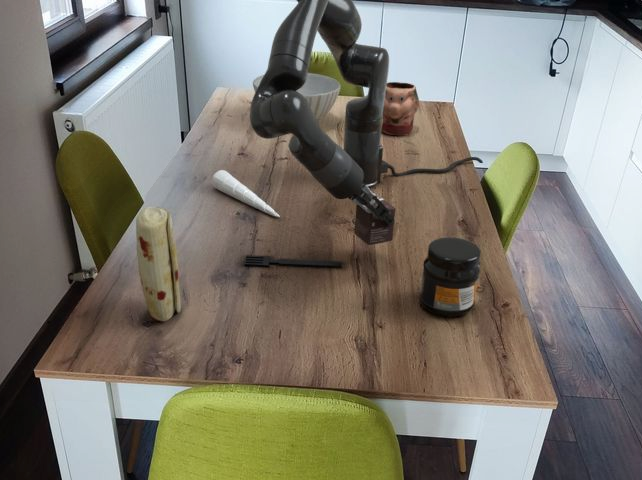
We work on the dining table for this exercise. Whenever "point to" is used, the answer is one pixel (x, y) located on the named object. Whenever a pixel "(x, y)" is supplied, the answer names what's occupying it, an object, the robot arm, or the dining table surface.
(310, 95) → the decorative bowl
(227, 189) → the unicorn horn
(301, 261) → the fork
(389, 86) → the decorative planter
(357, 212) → the box
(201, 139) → the dining table surface
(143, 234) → the food model
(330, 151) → the robot arm
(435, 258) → the supplement container
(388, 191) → the dining table surface
